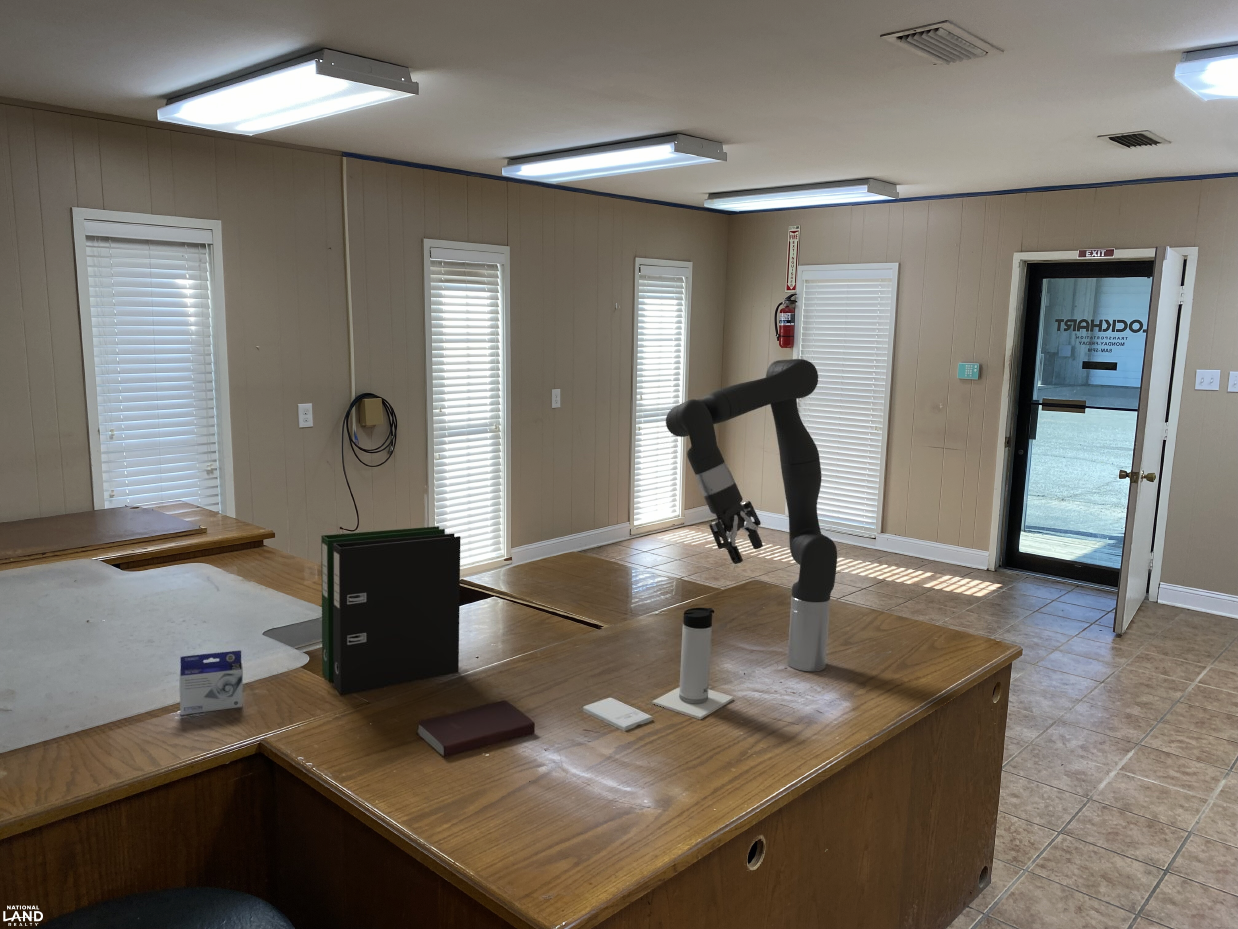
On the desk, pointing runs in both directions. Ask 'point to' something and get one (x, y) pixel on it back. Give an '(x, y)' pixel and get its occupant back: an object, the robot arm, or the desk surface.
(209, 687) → the ink box
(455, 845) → the desk surface
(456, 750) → the book
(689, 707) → the white square pad
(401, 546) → the ring binders
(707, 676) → the travel mug
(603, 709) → the external hard drive
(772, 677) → the desk surface
